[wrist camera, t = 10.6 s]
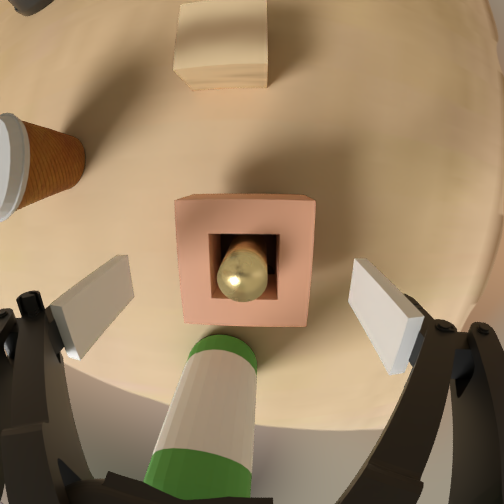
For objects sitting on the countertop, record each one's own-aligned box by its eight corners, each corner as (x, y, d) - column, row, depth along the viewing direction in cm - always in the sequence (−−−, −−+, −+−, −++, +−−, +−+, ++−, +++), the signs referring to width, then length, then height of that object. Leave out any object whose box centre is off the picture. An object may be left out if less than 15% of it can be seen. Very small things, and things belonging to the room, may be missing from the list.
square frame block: (193, 194, 22) (174, 200, 17) (304, 194, 21) (315, 200, 17) (198, 295, 24) (184, 323, 19) (298, 297, 24) (306, 326, 19)
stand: (196, 33, 20) (180, 4, 14) (266, 29, 20) (266, -3, 14) (192, 90, 22) (172, 70, 16) (267, 87, 22) (268, 63, 16)
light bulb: (212, 202, 25) (181, 220, 15) (288, 203, 25) (304, 221, 15) (214, 273, 27) (189, 326, 17) (285, 274, 26) (297, 330, 17)
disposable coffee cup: (106, 126, 23) (25, 112, 11) (87, 212, 26) (8, 239, 14) (50, 119, 22) (-23, 112, 11) (36, 194, 25) (-36, 211, 14)
